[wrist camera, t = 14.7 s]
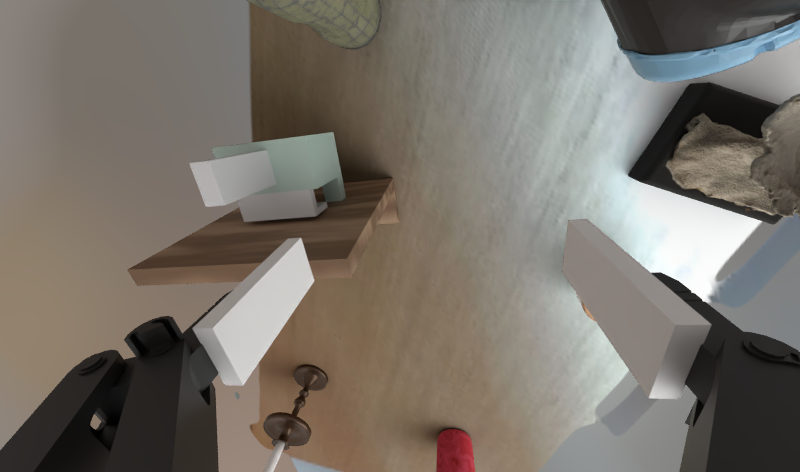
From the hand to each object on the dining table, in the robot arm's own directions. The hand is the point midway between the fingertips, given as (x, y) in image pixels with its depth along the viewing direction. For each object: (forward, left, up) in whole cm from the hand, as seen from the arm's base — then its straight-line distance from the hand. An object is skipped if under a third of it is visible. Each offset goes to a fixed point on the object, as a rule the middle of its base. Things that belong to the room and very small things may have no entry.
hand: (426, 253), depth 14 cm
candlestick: (+57, -38, -37) cm, 78 cm away
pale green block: (0, -20, -28) cm, 34 cm away
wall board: (+7, -20, -37) cm, 42 cm away
